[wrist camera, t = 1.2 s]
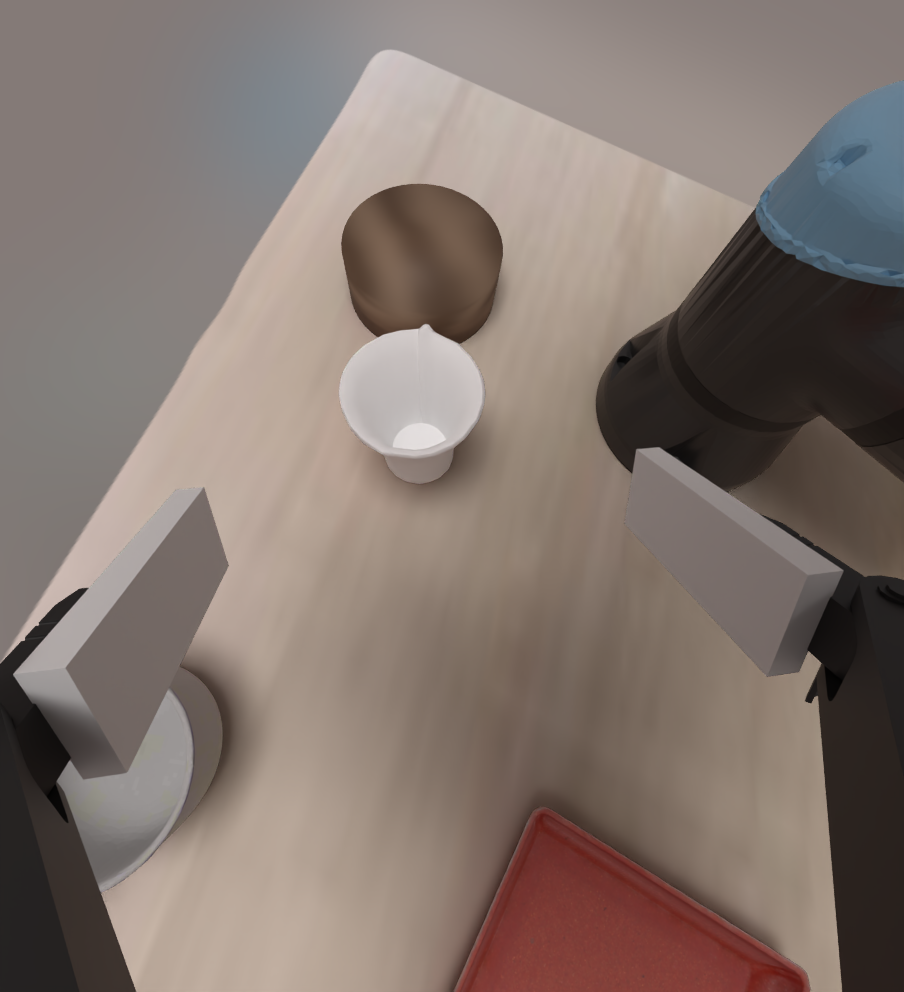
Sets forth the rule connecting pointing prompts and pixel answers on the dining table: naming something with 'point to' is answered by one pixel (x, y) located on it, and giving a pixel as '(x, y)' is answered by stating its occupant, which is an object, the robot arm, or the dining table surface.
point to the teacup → (149, 784)
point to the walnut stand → (422, 261)
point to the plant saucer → (608, 927)
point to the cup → (412, 400)
